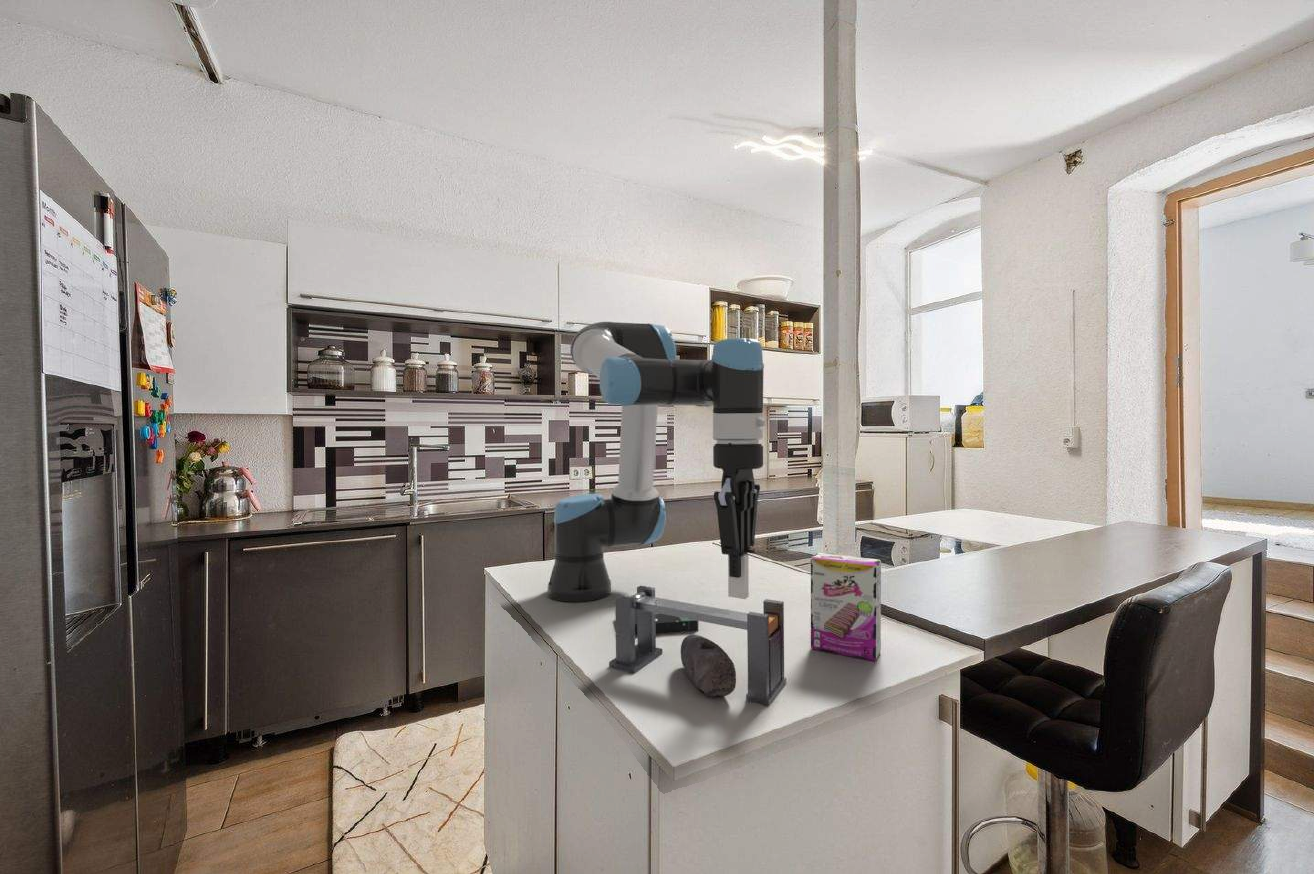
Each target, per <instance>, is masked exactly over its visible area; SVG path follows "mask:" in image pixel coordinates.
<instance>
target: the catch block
mask: <svg viewBox="0 0 1314 874" xmlns="http://www.w3.org/2000/svg"><path fill="white" fill-rule="evenodd" d="M762 603H763V613H760V612H755V611H749V612H748V614H747V630H746V631H747V634H746V635H747V637H746V638H747V639H746V641H747V642H746V643H747V647H746V648H747V693H746V694H745V700H746V701H747V700H748V701H747V702H752V703H755V704H759V705H763V706H768V707H769V706H770V705H771V704H772V702H773V701H774V700H775V699H776V698H777V696H778V695H779V694H780V692H781V691H782V690H783V688H784V686H786V684H787V677H785V627H784V626H785V619H784V618H785V616H784V615H785V614H784V613H785V611H784V610H785V608H784V606H785V605H784V603H785V602H784V601H782V600H775V599H769V598H765V599H764V600H763V601H762ZM765 613H768V614H774V615H778V627H777V628H776V629H775V630H774V631H773V632H772V633H771V634H770V635H769V615H767V614H765ZM773 699H774V700H773Z"/></svg>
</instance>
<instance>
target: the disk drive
mask: <svg viewBox="0 0 1314 874" xmlns="http://www.w3.org/2000/svg"><path fill="white" fill-rule="evenodd" d="M655 622H656V635H658V634H659V635H661V634H676V633H691V632H692V633H693V632H699V621H697V620H692V619H686V618H681V617H676V616H671V615H665V614H660V613H655ZM636 636H637V609H635V637H636Z"/></svg>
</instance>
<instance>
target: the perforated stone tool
mask: <svg viewBox="0 0 1314 874" xmlns="http://www.w3.org/2000/svg"><path fill="white" fill-rule="evenodd" d="M680 660H681V665H682V667H683V670H684V671H685V673H686V674H687V675H688V677H689V679H690V680H691V681H692V683H693V684H694V685H695V687H697V689H698V690H701V691H702V692H704V694H705V695H706V696H707V697H711V698H715V697H718V696H721V697H727V696H728V695H730V694H732V693H733V692H734V691H735V688H736V684H737V676H736V675H737V674H736V673H737V672H736V667H735V664H734V662H733V660H732V659H731V657H730V656H729V655H728V653H726V651H725V650H724V649H723V648H721V646H719V645H718V644H717V643H716V642H714V641H712V640H711V639H709V638H706V637H705V636H702V635H698V634H688V635H686V636H685V637H684V638H683V639H682V642H681V644H680Z"/></svg>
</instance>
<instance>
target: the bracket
mask: <svg viewBox="0 0 1314 874" xmlns="http://www.w3.org/2000/svg"><path fill="white" fill-rule="evenodd" d="M639 592H645V593H646V594H647V596H650V597H656V588H655V587H652V586H651V587H650V586H645V585H638V586H637V587H636V594H637V593H639ZM614 601H615V603H614V604H615V606H614V608H615V611H614V612H615V613H614V614H615V657H614V658H613V659H611V660H610V661H609V662H608V667H609V668H612V669H617V670H619V671H623V672H628V673H631V674H636V673H637V672H638V671H640V670H641V669H643V668H644V667H646V666H647V665H648V664H650V663H651V662H653V661H654V660H655V659H657V658H658V657H660V656H661V655H663V652H664V651H663V648H660V647H657V644H656V643H657V642H656V641H657V640H656V639H657V638H656V637H657V636H656V635H657V634H656V622H655V612H649V611H644V610H639V609H637V635H636V636H637V644H636V636H635V598H631V596H626V595H625V596H624V595H620V594H619V595H617V596H616V597H615V599H614Z"/></svg>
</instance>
